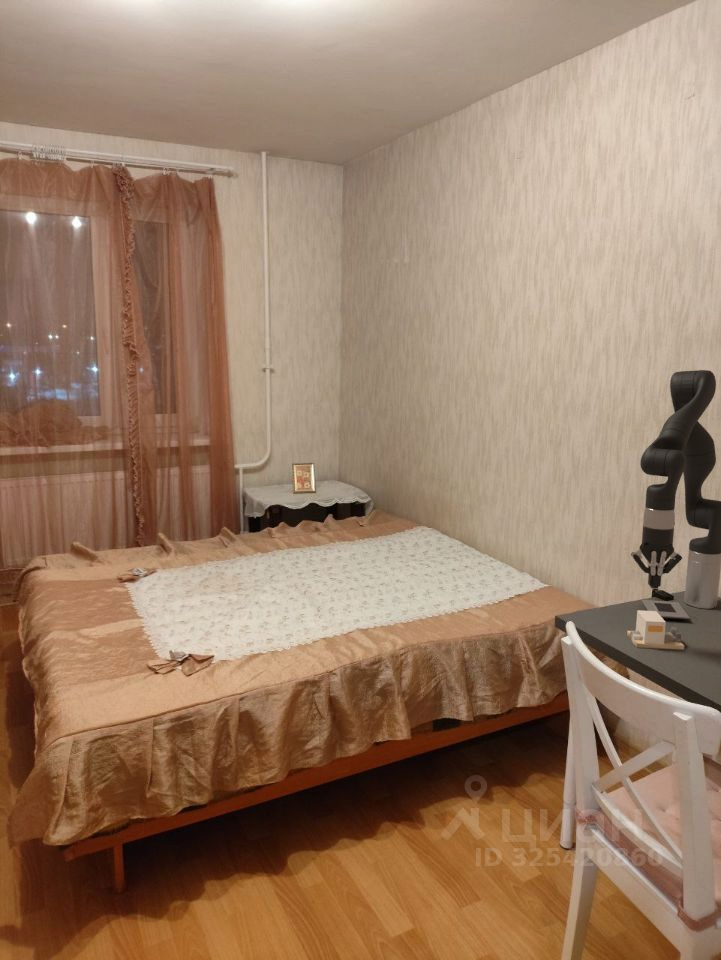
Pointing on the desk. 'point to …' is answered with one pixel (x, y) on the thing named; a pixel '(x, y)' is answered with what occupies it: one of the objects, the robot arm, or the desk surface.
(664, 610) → the electrical outlet
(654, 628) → the white rectangular block
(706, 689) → the desk surface
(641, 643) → the rail board
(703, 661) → the desk surface
